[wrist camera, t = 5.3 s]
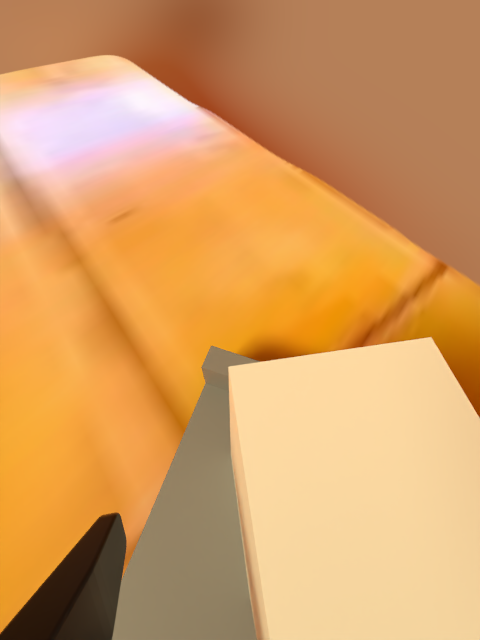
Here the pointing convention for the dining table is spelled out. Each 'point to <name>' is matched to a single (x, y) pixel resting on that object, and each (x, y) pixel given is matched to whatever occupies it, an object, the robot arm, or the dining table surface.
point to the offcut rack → (193, 535)
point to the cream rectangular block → (358, 494)
